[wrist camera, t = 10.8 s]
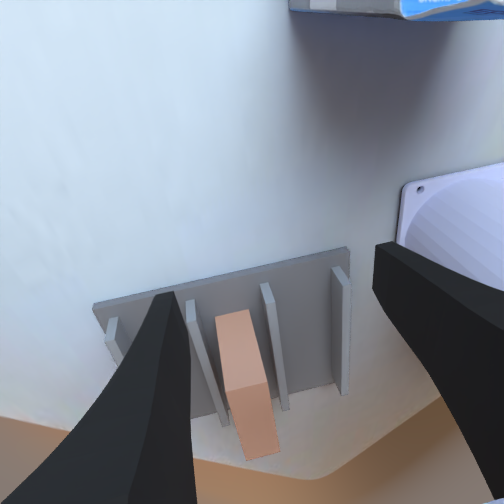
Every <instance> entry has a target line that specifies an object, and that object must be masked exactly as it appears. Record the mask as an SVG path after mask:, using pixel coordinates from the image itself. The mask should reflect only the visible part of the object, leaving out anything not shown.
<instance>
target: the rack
mask: <svg viewBox="0 0 504 504" xmlns="http://www.w3.org/2000/svg"><path fill="white" fill-rule="evenodd" d="M349 263H350V251H349V250H348V249H347V247H344V248H339V249H335V250H330V251H326V252H321V253H317V254H312V255H308V256H303V257H299V258H295V259H290V260H286V261H281V262H277V263H272V264H268V265H263V266H259V267H255V268H250V269H246V270H241V271H237V272H232V273H228V274H223V275H219V276H214V277H210V278H206V279H201V280H197V281H192V282H188V283H183V284H179V285H174V286H170V287H165V288H161V289H157V290H152V291H148V292H143V293H139V294H134V295H130V296H125V297H121V298H117V299H112V300H108V301H103V302H99V303H94V305H93V308H92V311H93V312H94V314H95V316H96V318H97V320H98V322H99V323H100V325H101V327H102V329H103V331H104V333H105V334H106V336H105V340H104V342H105V344H106V346H107V348H108V350H109V351H110V353H111V355H112V357H113V358H114V360H115V362H116V364H117V366H118V367H119V365H120V363H121V362H122V360H123V358H124V357H125V355H126V353H127V351H128V350H129V348H130V346H131V344H132V342H133V340H134V338H135V337H136V335H137V333H138V331H139V329H140V327H141V325H142V322H143V320H144V318H145V316H146V314H147V312H148V309H149V307H150V305H151V302H152V300H153V298H154V296H155V295H156V294H161V293H165V292H170V291H174V293H175V296H176V299H177V302H178V305H179V308H180V310H181V313H182V316H183V319H184V322H185V325H186V328H187V330H188V336H189V344H190V354H191V413H190V419H193V418H197V417H201V416H205V415H209V414H212V413H216V412H217V413H218V416H219V418H220V421H221V424H222V427H224V426H228V425H230V423H229V416H228V409H230V406H229V402H228V399H227V396H226V393H225V386H224V379H223V372H222V365H221V358H220V350H219V343H218V336H217V329H216V322H215V317H216V316H221V315H225V314H229V313H233V312H238V311H242V310H246V309H249V312H250V316H251V320H252V324H253V328H254V332H255V336H256V339H257V343H258V347H259V351H260V355H261V359H262V363H263V366H264V370H265V374H266V378H267V382H268V387H269V393H270V398H271V399H272V398H276V397H279V400H280V404H281V407H282V411H286V410H290V408H289V400H288V394H291V393H295V392H299V391H303V390H307V389H311V388H315V387H319V386H323V385H327V384H331V383H336V385H337V388H338V390H339V392H340V394H341V396H344V395H348V388H349V357H350V325H351V294H352V284H351V282H350V281H349Z"/></svg>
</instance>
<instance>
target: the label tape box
mask: <svg viewBox="0 0 504 504" xmlns="http://www.w3.org/2000/svg"><path fill="white" fill-rule="evenodd" d="M289 9H290V10H292V11H301V12H317V13H330V14H340V15H350V16H368V17H385V18H394V19H401V20H410V21H470V20H495V19H504V0H289Z"/></svg>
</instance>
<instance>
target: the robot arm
mask: <svg viewBox="0 0 504 504" xmlns="http://www.w3.org/2000/svg"><path fill="white" fill-rule="evenodd" d="M420 186H421V187H420ZM418 187H420V189H419V190H418V191H416V190H417V188H418ZM372 289H373V291H374V293H375V295H376V297H377V299H378V301H379V303H380V305H381V306H382V308H383V310H384V312H385V313H386V315H387V316H388V318H389V319H390V320H391V322H392V323H393V325H394V326H395V327H396V329H397V330H398V331H399V333H400V334H401V336H402V337H403V338H404V340H405V341H406V342H407V344H408V345H409V346H410V348H411V349H412V351H413V352H414V353H415V355H416V356H417V357H418V359H419V360H420V361H421V363H422V364H423V366H424V367H425V369H426V370H427V372H428V373H429V375H430V377H431V378H432V380H433V382H434V384H435V385H436V387H437V389H438V390H439V392H440V394H441V396H442V397H443V399H444V401H445V403H446V404H447V406H448V408H449V410H450V411H451V413H452V415H453V417H454V419H455V421H456V423H457V424H458V426H459V428H460V430H461V432H462V434H463V436H464V438H465V440H466V442H467V444H468V445H469V448H470V450H471V452H472V453H473V455H474V457H475V459H476V462H477V464H478V466H479V468H480V470H481V472H482V474H483V476H484V478H485V480H486V483H487V485H488V487H489V489H490V491H491V493H492V495H493V497H494V501H491V502H487V503H484V504H504V162H502V163H498V164H493V165H488V166H484V167H479V168H474V169H470V170H465V171H460V172H456V173H451V174H446V175H441V176H437V177H432V178H427V179H423V180H418V181H413V182H410V183H407V184H406V185H405V186H404V188H403V190H402V197H401V205H400V214H399V223H398V231H397V240H396V243H395V242H392V241H391V242H387V243H382V244H378V245H376V246H375V260H374V273H373V286H372ZM190 413H191V354H190V344H189V336H188V330H187V328H186V325H185V322H184V319H183V316H182V313H181V310H180V308H179V305H178V302H177V299H176V296H175V293H174V291H170V292H165V293H161V294H156V295H155V296H154V298H153V300H152V302H151V305H150V307H149V309H148V312H147V314H146V316H145V318H144V320H143V322H142V325H141V327H140V329H139V331H138V333H137V335H136V337H135V338H134V340H133V342H132V344H131V346H130V348H129V350H128V351H127V353H126V355H125V357H124V358H123V360H122V362H121V363H120V365H119V367H118V369H117V370H116V372H115V373H114V375H113V376H112V378H111V379H110V381H109V383H108V384H107V385H106V387H105V388H104V390H103V391H102V393H101V394H100V395H99V397H98V398H97V399H96V401H95V402H94V403H93V405H92V406H91V407H90V409H89V410H88V411H87V413H86V414H85V415H84V416H83V418H82V419H81V420H80V421H79V423H78V424H77V425H76V426H75V427H74V429H73V430H72V431H71V432H70V433H69V435H67V437H66V438H65V439H64V440H63V441H62V442H61V443H60V445H59V446H58V447H57V448H56V449H55V450H54V451H53V452H52V453H51V454H50V455H49V457H47V459H46V460H45V461H44V462H43V463H42V464H41V465H40V466H39V467H38V468H37V469H36V470H35V471H34V472H33V473H32V474H31V475H29V476H28V477H27V479H26V480H24V481H23V482H22V483H21V484H20V485H19V486H18V487H17V488H16V489H15V490H14V491H13V492H12V493H11V494H10V495H9V496H8V497H7V498H6V499H5V500H3V502H1V504H197V497H196V487H195V476H194V466H193V454H192V443H191V424H190Z"/></svg>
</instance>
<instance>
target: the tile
mask: <svg viewBox="0 0 504 504" xmlns="http://www.w3.org/2000/svg"><path fill="white" fill-rule="evenodd" d="M215 322H216V329H217V336H218V343H219V350H220V358H221V365H222V372H223V379H224V386H225V393H226V396H227V399H228V402H229V406H230V409H231V412H232V416H233V419H234V422H235V425H236V429H237V432H238V435H239V439H240V442H241V445H242V448H243V452H244V455H245V458H246V461H248V460H251V459H255V458H259V457H263V456H266V455H270V454H274V453H278V452H280V447H279V442H278V436H277V431H276V425H275V420H274V415H273V409H272V404H271V398H270V393H269V387H268V382H267V378H266V374H265V370H264V366H263V363H262V359H261V355H260V351H259V347H258V343H257V339H256V336H255V332H254V328H253V324H252V320H251V316H250V312H249V309H246V310H242V311H238V312H233V313H229V314H225V315H221V316H216V317H215Z"/></svg>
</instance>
